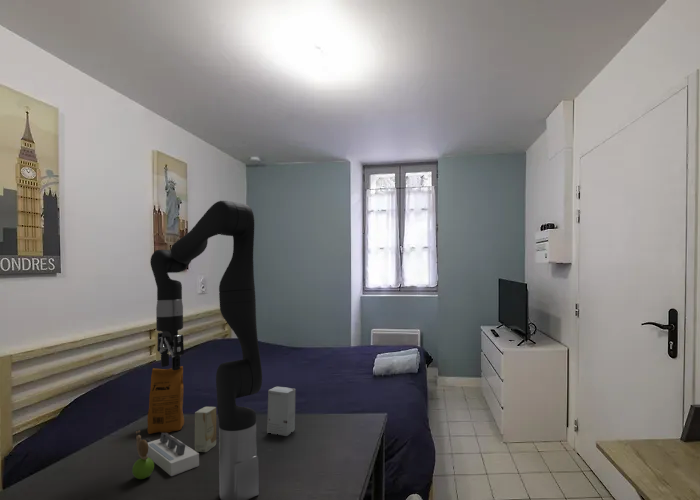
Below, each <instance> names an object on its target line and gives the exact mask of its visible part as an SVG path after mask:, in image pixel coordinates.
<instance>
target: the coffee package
mask: <svg viewBox="0 0 700 500" xmlns="http://www.w3.org/2000/svg"><path fill="white" fill-rule="evenodd" d="M150 376H151V377H150V391H149V398H148V399H149V402H148V410H147V434H148V435H152V434H156V433H168V434H169V433H173V432H176V431H181V430H182V428H183V426H184V424H185V417H184V413H183V411H184V410H183V407H184V393H185V392H184V366H183V365H180V369H179V370H172V367H170V368H166V369H164V368H163V369H162V368H154V367H153V368H152V370H151V375H150Z"/></svg>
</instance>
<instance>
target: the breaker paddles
mask: <svg viewBox="0 0 700 500" xmlns="http://www.w3.org/2000/svg"><path fill="white" fill-rule="evenodd" d="M160 433H161V432H160ZM171 436H172V435H170V434H169V432H168V433H161V434H160V438H159V439H160V442H162V443H166V442H168V446H167V447H169V448H175V447H176V446H177V448H176V453H177V454H184V451H185V445H186V444H185V443H184V444H183V442H182V441H180V440H179V439H177V438H176V437H174V436H173V437H174V438H173V437H171ZM168 440H169V441H168ZM178 440H179V441H180V442H179V441H178ZM181 442H182V443H181Z"/></svg>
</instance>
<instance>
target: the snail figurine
mask: <svg viewBox="0 0 700 500" xmlns="http://www.w3.org/2000/svg"><path fill="white" fill-rule="evenodd" d="M139 433H141V430H140V429H139V430H138V431H135V434H136V437H135V440H136V449H137V455H138V456H139V458H138V459H137V460H136V461H135V462H134V463H133V465H132V469H131V472H132V476H133V477H134V478H136V479H137V480H145V479H146V478H149V477H150V476H151V475H152V473H153V472H154V469H155V462H153V460H152V459H151V458H149V457H148V456H147V453H148V443H147V441H146V440H145V439H142V435H140V434H139Z"/></svg>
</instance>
